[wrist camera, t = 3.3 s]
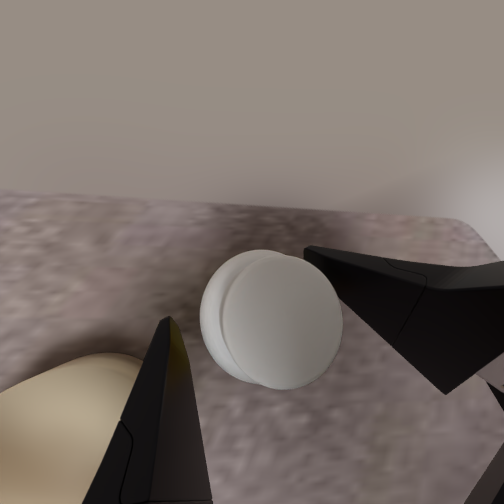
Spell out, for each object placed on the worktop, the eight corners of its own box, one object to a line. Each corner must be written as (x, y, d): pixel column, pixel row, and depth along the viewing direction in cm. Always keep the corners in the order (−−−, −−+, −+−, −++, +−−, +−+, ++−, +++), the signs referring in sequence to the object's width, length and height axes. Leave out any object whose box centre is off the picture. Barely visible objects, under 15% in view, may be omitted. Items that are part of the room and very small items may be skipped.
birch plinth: (121, 571, 10) (84, 678, 7) (-69, 528, 9) (-196, 631, 6) (198, 378, 13) (193, 400, 10) (60, 331, 12) (14, 341, 9)
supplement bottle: (219, 352, 14) (233, 480, 4) (197, 285, 15) (164, 262, 5) (281, 322, 15) (395, 364, 6) (257, 263, 16) (321, 212, 7)
